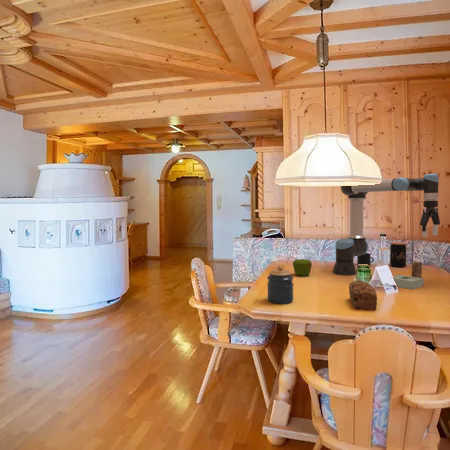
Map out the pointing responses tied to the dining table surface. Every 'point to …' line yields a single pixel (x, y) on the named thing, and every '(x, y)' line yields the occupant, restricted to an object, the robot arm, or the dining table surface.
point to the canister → (280, 286)
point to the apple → (302, 267)
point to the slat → (417, 269)
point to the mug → (364, 259)
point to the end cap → (408, 281)
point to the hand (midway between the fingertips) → (429, 236)
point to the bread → (362, 295)
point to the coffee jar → (398, 254)
